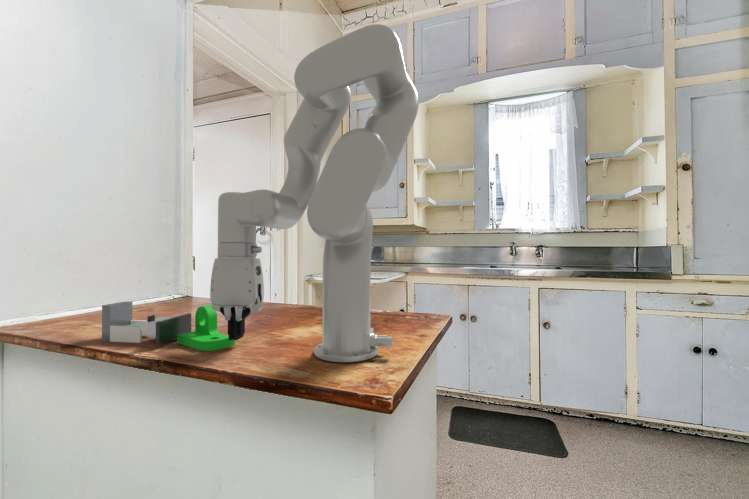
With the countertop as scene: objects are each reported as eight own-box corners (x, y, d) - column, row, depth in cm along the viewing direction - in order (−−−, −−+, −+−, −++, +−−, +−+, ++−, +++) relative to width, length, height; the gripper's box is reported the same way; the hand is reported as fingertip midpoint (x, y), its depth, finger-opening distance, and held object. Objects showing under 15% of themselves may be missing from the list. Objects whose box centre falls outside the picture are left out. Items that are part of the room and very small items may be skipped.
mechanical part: (177, 343, 76) (177, 307, 76) (203, 338, 81) (203, 304, 81) (207, 353, 69) (207, 313, 69) (234, 346, 74) (234, 309, 74)
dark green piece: (191, 333, 81) (191, 311, 81) (159, 345, 71) (159, 319, 71) (165, 332, 82) (165, 310, 82) (130, 343, 72) (130, 318, 72)
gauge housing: (160, 336, 82) (160, 302, 82) (139, 342, 76) (139, 306, 76) (124, 334, 83) (124, 301, 83) (101, 341, 77) (102, 305, 77)
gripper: (278, 252, 75) (277, 335, 75) (214, 251, 77) (213, 332, 77) (262, 252, 68) (261, 345, 68) (192, 251, 70) (191, 341, 70)
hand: (236, 338), depth 73 cm, fingers closed
